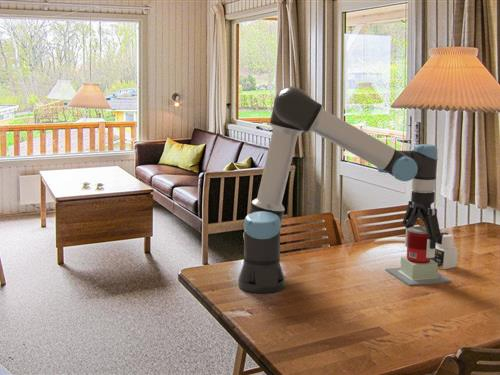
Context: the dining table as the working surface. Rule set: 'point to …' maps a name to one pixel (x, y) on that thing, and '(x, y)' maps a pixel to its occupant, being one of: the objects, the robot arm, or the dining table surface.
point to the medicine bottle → (445, 252)
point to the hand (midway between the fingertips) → (419, 251)
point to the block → (419, 269)
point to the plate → (411, 282)
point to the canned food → (417, 245)
